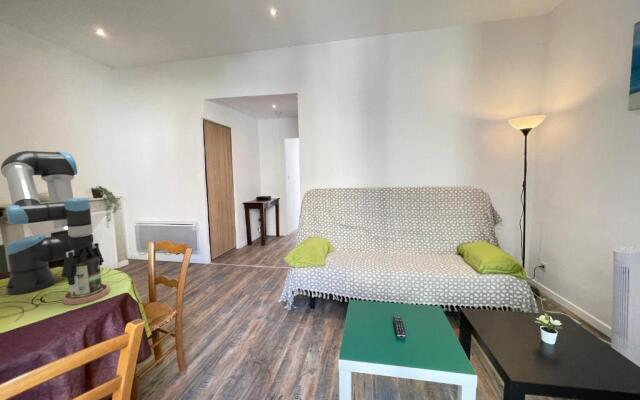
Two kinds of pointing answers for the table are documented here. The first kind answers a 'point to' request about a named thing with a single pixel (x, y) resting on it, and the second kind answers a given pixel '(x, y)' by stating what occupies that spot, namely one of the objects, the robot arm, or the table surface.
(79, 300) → the saucer
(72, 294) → the coffee can
